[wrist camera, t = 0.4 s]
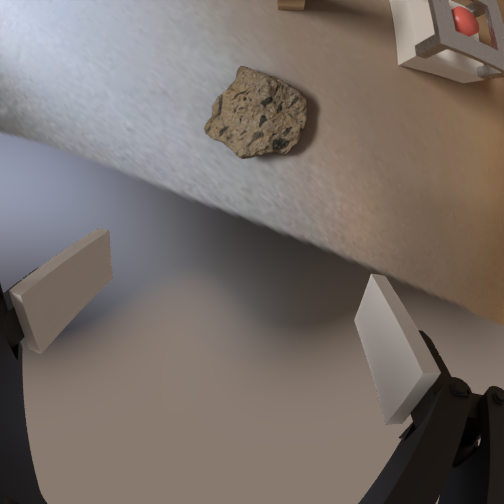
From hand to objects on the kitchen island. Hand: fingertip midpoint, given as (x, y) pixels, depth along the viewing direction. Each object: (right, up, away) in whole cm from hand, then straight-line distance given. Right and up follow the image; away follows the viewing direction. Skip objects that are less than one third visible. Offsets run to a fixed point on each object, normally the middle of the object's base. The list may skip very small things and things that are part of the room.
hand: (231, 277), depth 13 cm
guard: (+27, +30, +8) cm, 41 cm away
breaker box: (+27, +33, +13) cm, 44 cm away
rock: (+2, +19, +22) cm, 29 cm away
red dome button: (+27, +31, +10) cm, 42 cm away
